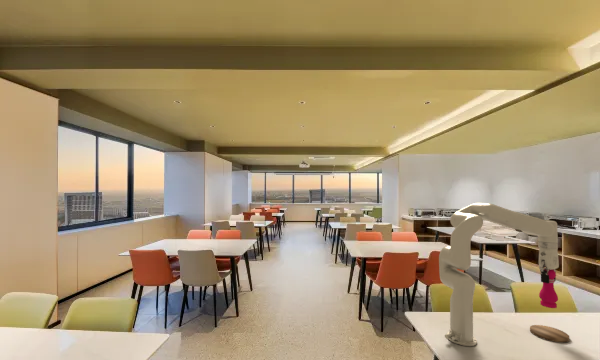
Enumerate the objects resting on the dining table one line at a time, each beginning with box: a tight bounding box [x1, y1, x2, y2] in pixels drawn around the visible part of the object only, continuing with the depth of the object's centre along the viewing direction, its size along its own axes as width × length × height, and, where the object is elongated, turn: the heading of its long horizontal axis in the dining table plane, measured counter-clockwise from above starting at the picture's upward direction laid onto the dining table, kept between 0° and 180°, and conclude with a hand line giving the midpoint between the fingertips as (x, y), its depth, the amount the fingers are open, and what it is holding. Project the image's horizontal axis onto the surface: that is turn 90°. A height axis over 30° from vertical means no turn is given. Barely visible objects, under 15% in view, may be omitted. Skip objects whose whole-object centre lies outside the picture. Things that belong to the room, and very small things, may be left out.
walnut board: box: [529, 324, 570, 344], centre depth 147 cm, size 15×15×2 cm
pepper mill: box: [538, 267, 559, 309], centre depth 148 cm, size 7×7×20 cm
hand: (548, 281), depth 148 cm, fingers closed on pepper mill, 6 cm apart
